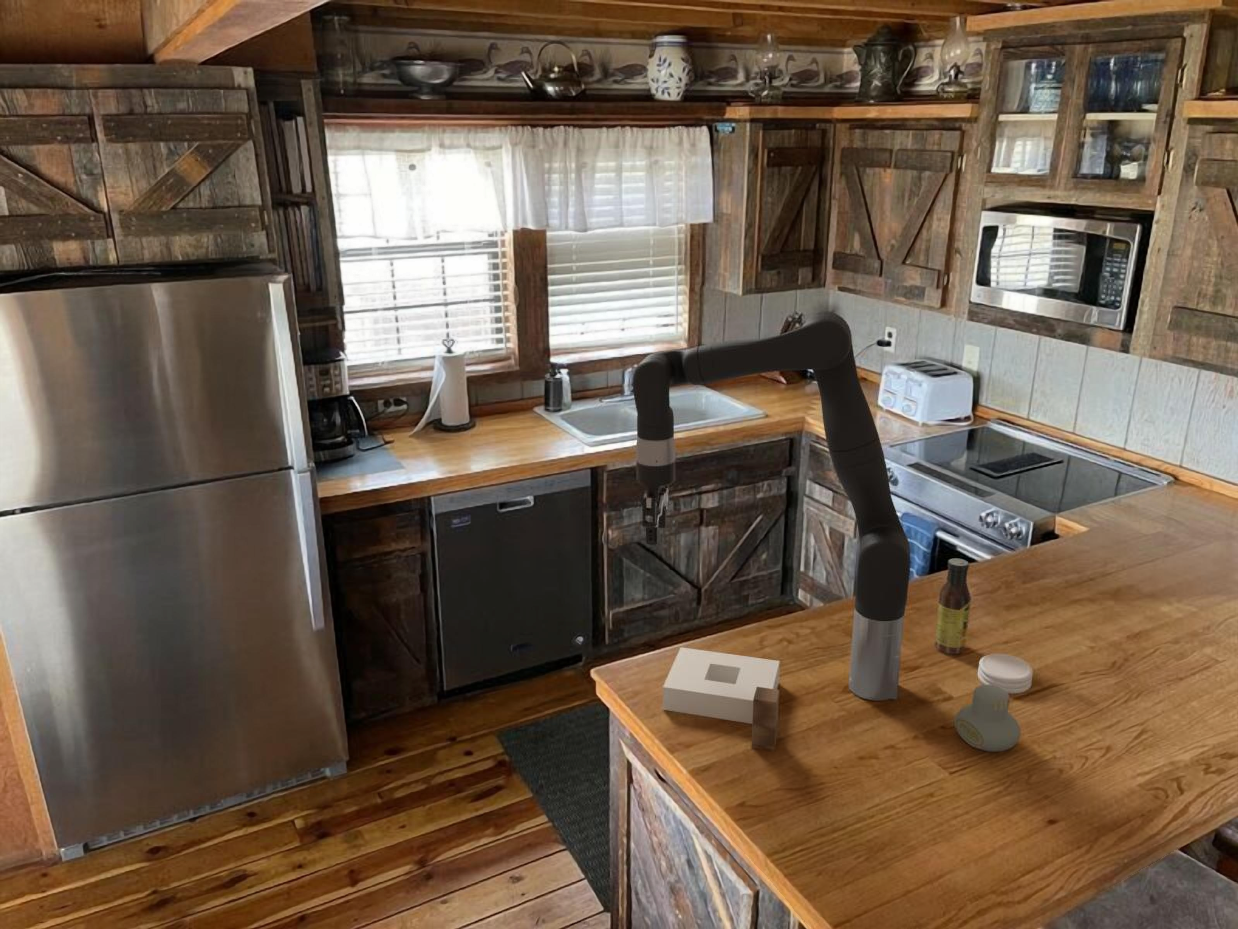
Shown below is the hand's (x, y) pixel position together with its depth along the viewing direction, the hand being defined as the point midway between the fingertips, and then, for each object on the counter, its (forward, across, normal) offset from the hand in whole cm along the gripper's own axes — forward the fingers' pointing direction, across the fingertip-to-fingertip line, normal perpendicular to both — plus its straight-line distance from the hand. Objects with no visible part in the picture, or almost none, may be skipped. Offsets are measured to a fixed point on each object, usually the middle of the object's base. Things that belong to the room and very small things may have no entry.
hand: (656, 535), depth 184 cm
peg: (+29, -23, -24) cm, 44 cm away
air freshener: (+29, -14, -63) cm, 71 cm away
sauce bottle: (+29, +18, -59) cm, 68 cm away
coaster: (+30, +8, -69) cm, 75 cm away
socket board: (+28, -10, -15) cm, 34 cm away
